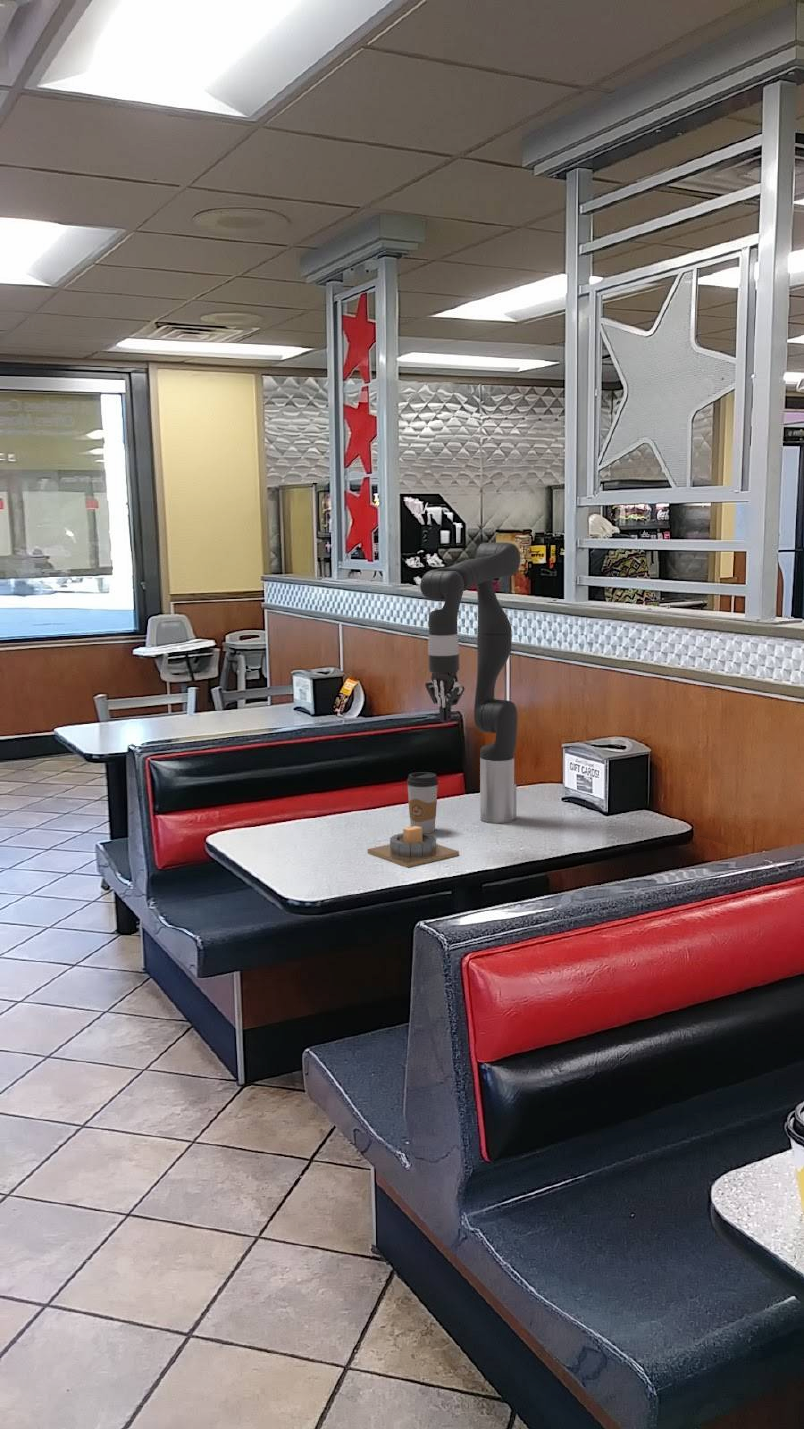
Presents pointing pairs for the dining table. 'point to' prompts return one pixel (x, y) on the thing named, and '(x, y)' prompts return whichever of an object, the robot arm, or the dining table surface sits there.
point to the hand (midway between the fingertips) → (445, 721)
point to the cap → (412, 834)
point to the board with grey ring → (413, 851)
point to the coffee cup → (422, 800)
